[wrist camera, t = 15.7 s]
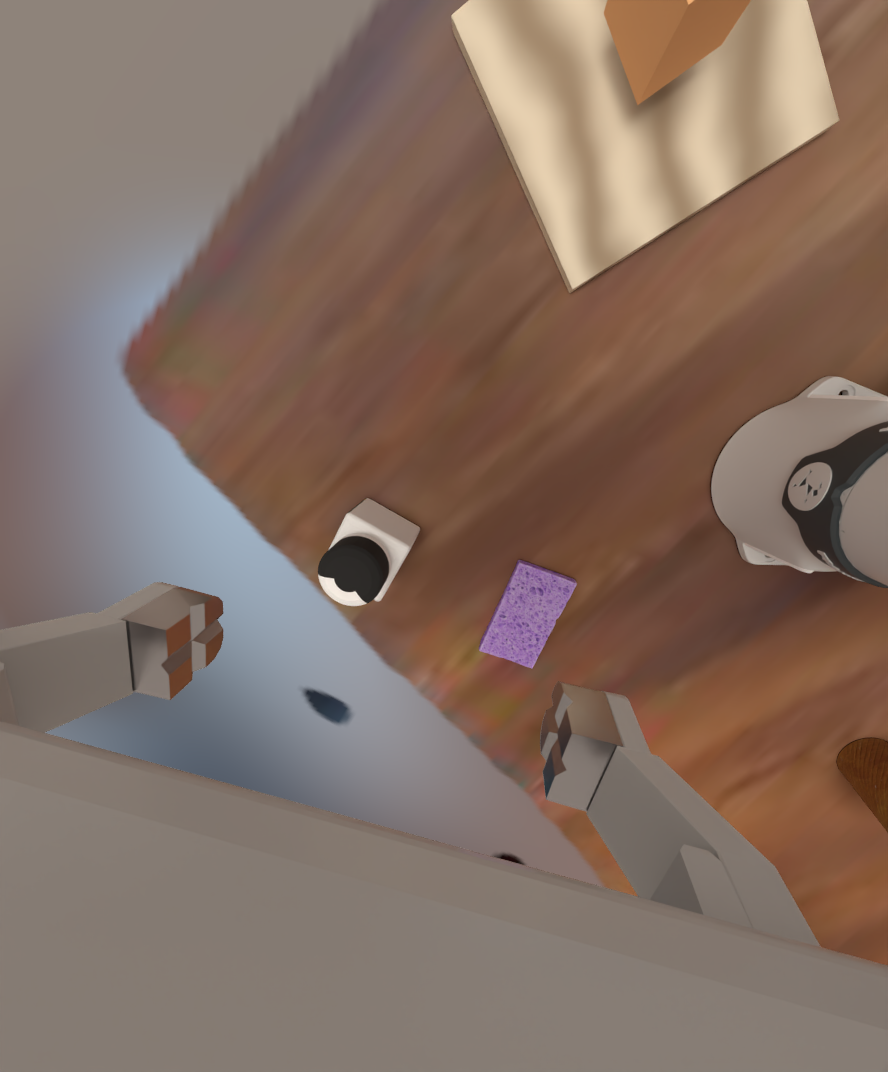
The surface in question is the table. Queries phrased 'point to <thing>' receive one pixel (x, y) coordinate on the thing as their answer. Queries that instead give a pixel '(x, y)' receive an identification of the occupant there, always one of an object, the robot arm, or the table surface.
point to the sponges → (526, 613)
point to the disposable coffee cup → (868, 773)
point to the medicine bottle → (366, 554)
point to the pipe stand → (637, 119)
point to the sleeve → (667, 36)
